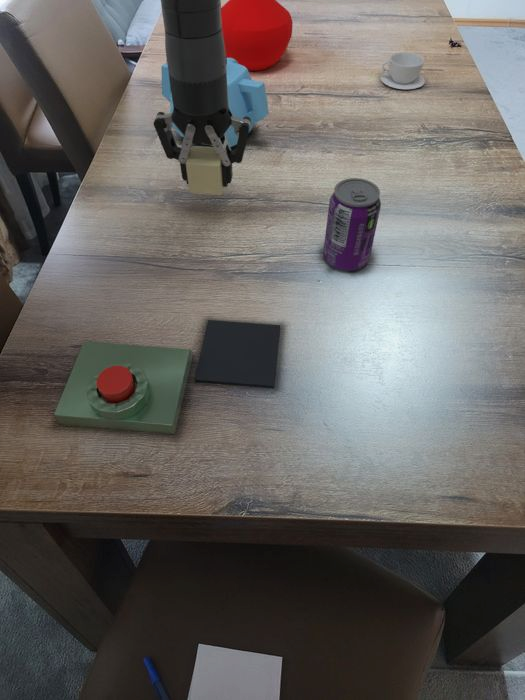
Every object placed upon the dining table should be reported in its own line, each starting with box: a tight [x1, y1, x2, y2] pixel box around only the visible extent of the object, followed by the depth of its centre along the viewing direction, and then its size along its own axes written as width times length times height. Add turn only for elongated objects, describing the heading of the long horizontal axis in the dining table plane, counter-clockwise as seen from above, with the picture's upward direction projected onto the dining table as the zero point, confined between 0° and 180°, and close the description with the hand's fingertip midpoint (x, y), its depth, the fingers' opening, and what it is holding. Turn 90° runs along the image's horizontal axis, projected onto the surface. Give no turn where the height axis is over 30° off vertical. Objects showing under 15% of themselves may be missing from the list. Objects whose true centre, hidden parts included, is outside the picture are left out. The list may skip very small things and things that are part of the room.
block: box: [186, 145, 224, 196], centre depth 75 cm, size 5×5×5 cm
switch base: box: [53, 340, 193, 435], centre depth 60 cm, size 14×11×4 cm
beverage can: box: [322, 177, 382, 271], centre depth 71 cm, size 7×7×12 cm
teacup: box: [380, 51, 426, 90], centre depth 110 cm, size 10×10×5 cm
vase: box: [221, 0, 294, 72], centre depth 111 cm, size 18×18×19 cm
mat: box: [194, 319, 281, 389], centre depth 64 cm, size 10×10×1 cm
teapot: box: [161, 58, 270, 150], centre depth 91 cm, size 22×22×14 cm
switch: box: [96, 366, 135, 402], centre depth 56 cm, size 4×4×2 cm
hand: (208, 182), depth 77 cm, fingers closed on block, 5 cm apart
